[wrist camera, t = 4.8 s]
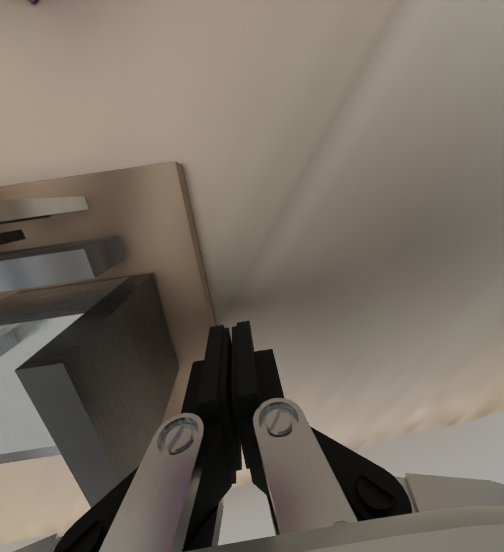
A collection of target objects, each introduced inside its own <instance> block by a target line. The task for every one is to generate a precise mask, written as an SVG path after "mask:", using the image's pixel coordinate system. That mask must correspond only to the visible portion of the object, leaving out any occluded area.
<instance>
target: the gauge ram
mask: <svg viewBox="0 0 504 552" xmlns="http://www.w3.org/2000/svg"><path fill="white" fill-rule="evenodd" d="M24 239H26V238H25V236H24V234H23V231H22V229H20V230H13V231H7V232H1V233H0V245H2V244H7V243H11V242H15V241H19V240H24ZM178 371H179V365H178V361H177V358H176V354H175V351H174V347H173V344H172V340H171V337H170V333H169V330H168V326H167V323H166V319H165V316H164V312H163V309H162V305H161V302H160V298H159V295H158V291H157V288H156V284H155V281H154V277H153V274H152V273H151V274H145V275H138V276H131V277H124V278H117V279H111V280H104V281H97V282H90V283H84V284H77V285H70V286H63V287H56V288H50V289H43V290H36V291H29V292H23V293H16V294H11V295H9V296H7V297H4V298H2V299H0V454H5V453H12V452H18V451H25V450H31V449H37V448H44V447H50V446H57V447H58V449H59V451H60V453H61V455H62V456H63V458H64V460H65V462H66V464H67V465H68V467H69V469H70V471H71V472H72V474H73V476H74V478H75V480H76V481H77V483H78V485H79V487H80V488H81V490H82V492H83V494H84V496H85V497H86V499H87V501H88V503H89V505H90V506H91V508H92V507H93V506H94V505H95V504H97V503H98V502H99V501H100V500H101V499H102V498H103V497H104V496H106V495H107V494H108V493H109V492H110V491H111V490H112V489H113V488H114V487H116V486H117V485H118V484H119V483H120V482H121V481H122V480H123V479H125V478H126V477H127V476H128V475H129V474H130V473H131V472H132V471H134V470H135V469H136V468H137V467H138V466H139V465H140V464H141V462H142V459H143V457H144V455H145V453H146V451H147V449H148V447H149V445H150V443H151V440H152V438H153V436H154V435H155V433H156V431H157V430H158V428H159V427H160V426H161V425H162V422H163V419H164V415H165V412H166V409H167V406H168V403H169V400H170V396H171V393H172V390H173V387H174V384H175V381H176V377H177V374H178Z"/></svg>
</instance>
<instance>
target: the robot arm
mask: <svg viewBox="0 0 504 552" xmlns="http://www.w3.org/2000/svg"><path fill="white" fill-rule="evenodd" d="M241 445H242V450H243V455H244V459H245V464H246V468H247V469H249V468H250V472H251V477H252V482H253V483H254V484H255V485H256V486H257V487H258V488H259V489H260V490H262V491H263V492H264V493H265V494H266V496H267V500H268V505H269V509H270V513H271V518H272V522H273V526H274V530H275V534H276V536H272V537H265V538H260V539H254V540H249V541H242V542H237V543H231V544H225V545H220V546H218V541H219V534H220V527H221V521H222V514H223V508H224V499H223V497H224V495H225V494H226V493H227V492H228V490H229V489H230V488H231V486H232V484H234V483H236V471H237V470H242V454H241ZM14 552H504V484H501V483H497V482H493V481H489V480H477V479H466V478H454V477H443V476H432V475H419V474H409V473H406V474H405V478H402V477H394V476H393V475H392V474H390V473H389V472H387V471H386V470H385V469H383V468H382V467H380V466H378V465H376V464H374V463H373V462H371V461H369V460H368V459H366V458H364V457H362V456H361V455H359V454H357V453H355V452H354V451H352V450H350V449H348V448H347V447H345V446H343V445H341V444H340V443H338V442H336V441H334V440H333V439H331V438H329V437H328V436H326V435H324V434H322V433H321V432H319V431H317V430H315V429H314V428H312V427H310V425H309V423H308V421H307V419H306V417H305V415H304V413H303V411H302V410H301V409H300V407H299V406H298V405H297V404H296V403H294V402H293V401H291V400H288V399H286V398H284V395H283V391H282V387H281V382H280V378H279V374H278V370H277V366H276V362H275V358H274V354H273V350H272V349H268V350H262V351H256V352H254V347H253V341H252V334H251V328H250V322H249V321H245V322H239V323H237V326H236V327H232V342H231V337H230V332H229V328H224V326H223V325H220V326H214V327H210V329H209V335H208V340H207V346H206V352H205V358H204V360H200V361H194V362H193V364H192V368H191V372H190V376H189V380H188V384H187V389H186V393H185V397H184V401H183V405H182V410H181V414H178V415H176V416H173V417H171V418H170V419H168V420H167V421H165V422H164V423H163V424H162V425H161V426H160V427H159V428H158V430H157V431H156V433H155V435H154V436H153V438H152V440H151V443H150V445H149V447H148V449H147V451H146V453H145V455H144V457H143V459H142V462H141V464H140V465H139V466H138V467H137V468H136V469H135V470H134V471H132V472H131V473H130V474H129V475H128V476H127V477H126V478H125V479H123V480H122V481H121V482H120V483H119V484H118V485H117V486H116V487H114V488H113V489H112V490H111V491H110V492H109V493H108V494H107V495H106V496H104V497H103V498H102V499H101V500H100V501H99V502H98V503H97V504H95V505H94V506H93V507H92V508H91V509H90V510H89V511H88V512H86V513H85V514H84V515H83V516H82V517H81V518H80V519H79V520H78V521H76V522H75V523H74V525H73V526H72V527H71V528H70V529H69V530H68V531H67V532H66V533H65V534H64V536H62V537H59V536H58V534H54V535H52V536H50V537H47V538H45V539H42V540H40V541H38V542H35V543H33V544H31V545H28V546H26V547H24V548H21V549H19V550H16V551H14Z"/></svg>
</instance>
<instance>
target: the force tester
mask: <svg viewBox="0 0 504 552" xmlns="http://www.w3.org/2000/svg"><path fill="white" fill-rule="evenodd" d="M20 229H22V231H23V234H24V236H25V238H26V239H24V240H19V241H15V242H11V243H7V244H2V245H0V299H2V298H4V297H7V296H9V295H11V294H16V293H23V292H29V291H36V290H43V289H50V288H56V287H63V286H70V285H77V284H84V283H90V282H97V281H104V280H111V279H117V278H124V277H131V276H138V275H145V274H151V273H152V274H153V277H154V281H155V284H156V288H157V291H158V295H159V298H160V302H161V305H162V309H163V312H164V316H165V319H166V323H167V326H168V330H169V333H170V337H171V340H172V344H173V347H174V351H175V354H176V358H177V361H178V365H179V371H178V374H177V377H176V381H175V384H174V387H173V390H172V393H171V396H170V400H169V403H168V406H167V409H166V412H165V415H164V419H163V422H162V424H163V423H164V422H165V421H167V420H168V419H170V418H171V417H173V416H176V415H178V414H181V410H182V405H183V401H184V397H185V393H186V389H187V384H188V380H189V376H190V372H191V368H192V364H193V362H194V361H200V360H204V358H205V352H206V346H207V340H208V335H209V329H210V327H214V326H216V324H215V320H214V315H213V310H212V305H211V301H210V296H209V291H208V286H207V282H206V277H205V272H204V268H203V263H202V258H201V253H200V249H199V244H198V239H197V234H196V230H195V225H194V220H193V215H192V211H191V206H190V201H189V196H188V192H187V187H186V182H185V177H184V173H183V168H182V165H181V164H179V163H177V162H170V163H163V164H156V165H149V166H142V167H135V168H128V169H121V170H113V171H106V172H99V173H92V174H85V175H78V176H71V177H64V178H57V179H50V180H43V181H36V182H29V183H22V184H15V185H8V186H1V187H0V233H1V232H7V231H13V230H20ZM60 454H61V453H60V451H59V449H58V447H57V446H50V447H44V448H37V449H31V450H25V451H18V452H12V453H5V454H0V464H2V463H9V462H15V461H21V460H28V459H34V458H41V457H47V456H53V455H60Z"/></svg>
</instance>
